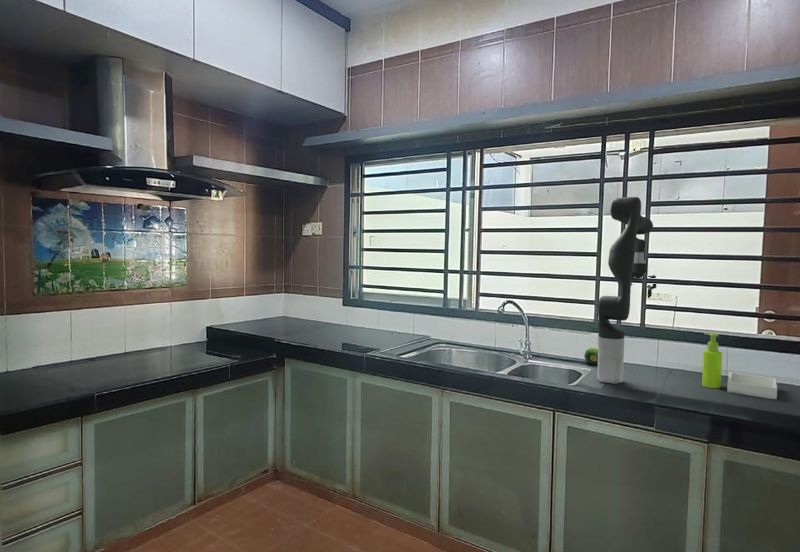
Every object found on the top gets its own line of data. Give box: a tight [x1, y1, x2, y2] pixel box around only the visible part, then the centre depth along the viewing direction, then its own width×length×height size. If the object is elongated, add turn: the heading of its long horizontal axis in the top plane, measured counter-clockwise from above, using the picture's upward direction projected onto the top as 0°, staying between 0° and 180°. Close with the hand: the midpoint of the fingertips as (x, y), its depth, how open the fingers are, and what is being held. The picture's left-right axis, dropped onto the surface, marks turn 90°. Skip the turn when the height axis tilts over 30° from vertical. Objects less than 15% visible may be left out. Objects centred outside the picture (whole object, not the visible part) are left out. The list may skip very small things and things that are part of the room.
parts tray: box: [726, 371, 778, 400], centre depth 172 cm, size 16×14×4 cm
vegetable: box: [583, 347, 598, 365], centre depth 217 cm, size 7×7×20 cm
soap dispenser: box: [701, 332, 723, 389], centre depth 178 cm, size 6×7×20 cm
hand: (638, 297), depth 218 cm, fingers open, 8 cm apart
